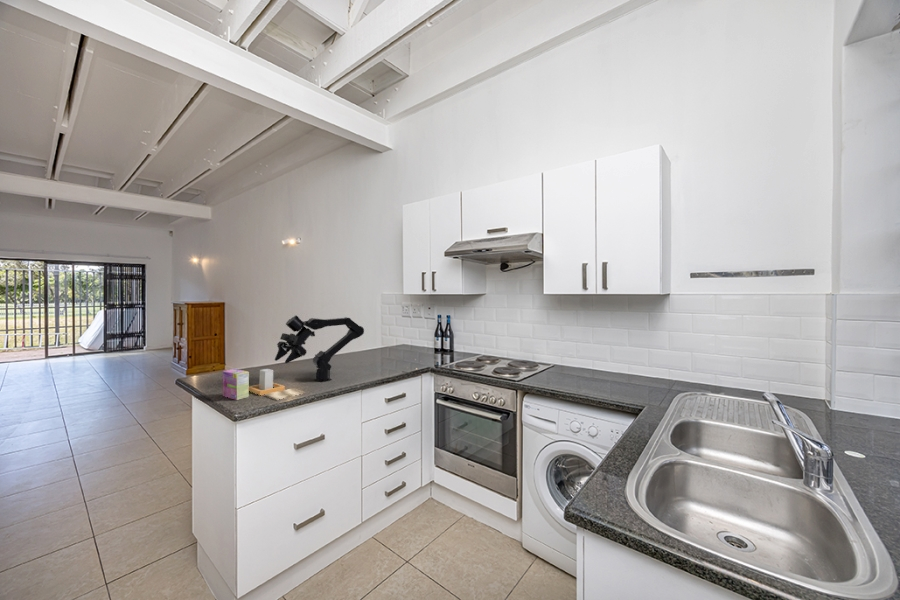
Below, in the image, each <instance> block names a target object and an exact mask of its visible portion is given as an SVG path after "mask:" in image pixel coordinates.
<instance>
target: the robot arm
mask: <svg viewBox="0 0 900 600" xmlns="http://www.w3.org/2000/svg"><path fill="white" fill-rule="evenodd" d="M344 325H345V326H346V328H347V329H348V330H347V332H346V333H345V335H343V336H342V338H340V339H339V340H338V341H336V342H335V343H334V344H333V345H332V346H330V347H329V348H327V350H324V351H323V350H319V352H318V353H317V354H314V357H313V359H312V363H313V365H315V367H316V372H315V379H314V381H317V382H321V383H323V381H324V382H327V381H331V380H332V378H331V373H330V372H331V369H332V365H331V364H330V361H331V359H332V357H333V356H334V355H336V354H337V353H338V352H340V351H341V350H342V349H344V347H346V346H347V345H348V344H349V343H350V342H351V341H353V340H356V339H359V338H360V337H361V336H363V335H364V334H365V329H364V327H363V326H361V325H359V324H358V323H357V322H355V321H353V320H352V319H351V318H350V317H347V316H345V317H340V318H339V317H338V318H325V319H323V318H313V317H311V318H309V319H308V320H305V321H302V320H301V319H300V317H299V316H297V315H294V316H293V317H291V318H290V319H288V320H287V321H286V323H285V326H286V327H288V328H289V329H290V330H291V331H292V332H293V333H290V334H289V333H283V332H282V334H281V335H280V338H279V340H281V341H278V342H277V344H276V345H277V348H278V349H277V353H276V355H275V358H274V361H278V360H280V359H281V358H283V357H284V356H286V355H287V354H288V353H289V352H290V353H289V355H288V357H287V358H286V359H285V361H284V364H288V363H290V362H292V361H295V360H297V359H298V358H302V357H305V355H306V354H307V351H308V350H307V349H305V347H304V346H303V345H306V341H307V340H308V339H309V337H312V338H313V337H315V336H316V334H315V333H316V332H315V331H316V330H320V329H321V330H322V329H323V328H326V327H334V326H344ZM312 330H313V331H312ZM295 332H297V333H296V334H294V333H295Z"/></svg>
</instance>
